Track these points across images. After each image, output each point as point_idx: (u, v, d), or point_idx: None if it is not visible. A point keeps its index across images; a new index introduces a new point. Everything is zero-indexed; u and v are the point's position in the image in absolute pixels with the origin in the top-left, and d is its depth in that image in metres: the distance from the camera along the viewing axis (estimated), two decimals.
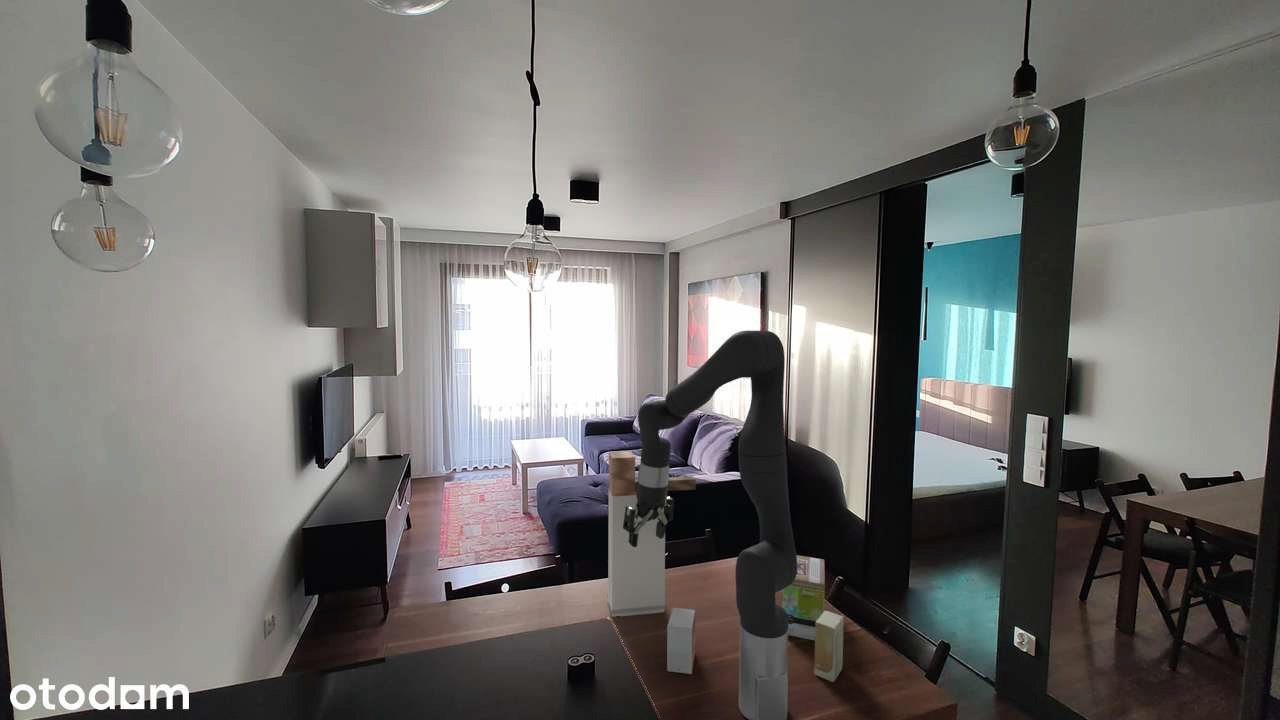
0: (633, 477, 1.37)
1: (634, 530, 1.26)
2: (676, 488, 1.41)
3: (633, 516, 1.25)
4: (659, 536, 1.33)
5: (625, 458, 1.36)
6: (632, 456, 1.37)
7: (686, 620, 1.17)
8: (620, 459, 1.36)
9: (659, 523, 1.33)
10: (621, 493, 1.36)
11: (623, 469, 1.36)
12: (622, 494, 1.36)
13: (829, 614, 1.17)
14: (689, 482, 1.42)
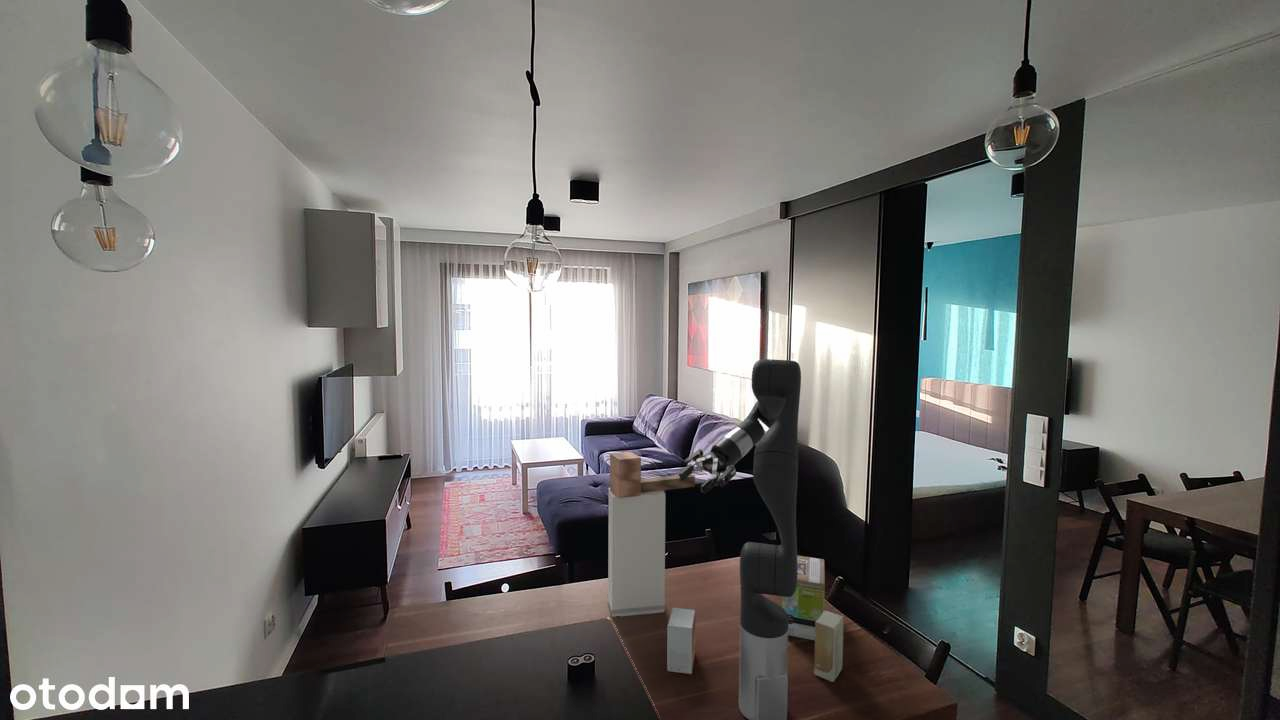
0: (639, 478, 1.36)
1: None
2: (677, 486, 1.43)
3: (697, 452, 1.46)
4: None
5: (631, 459, 1.35)
6: (637, 457, 1.36)
7: (686, 620, 1.17)
8: (627, 460, 1.34)
9: None
10: (627, 494, 1.35)
11: (629, 470, 1.35)
12: (628, 495, 1.35)
13: (829, 614, 1.17)
14: (689, 480, 1.44)
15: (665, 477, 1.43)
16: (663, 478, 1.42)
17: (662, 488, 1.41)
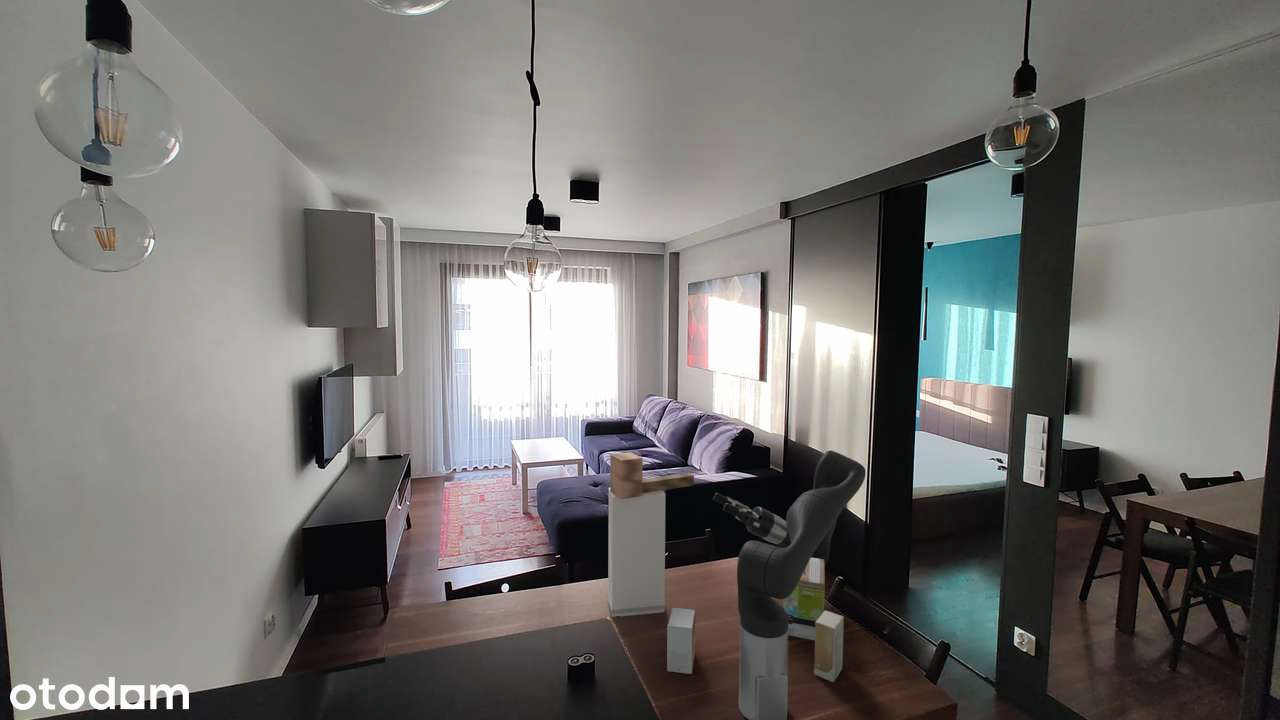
0: (640, 478, 1.36)
1: None
2: (677, 486, 1.43)
3: None
4: None
5: (633, 459, 1.34)
6: (638, 457, 1.36)
7: (686, 620, 1.17)
8: (628, 461, 1.34)
9: None
10: (629, 495, 1.35)
11: (631, 471, 1.34)
12: (630, 496, 1.35)
13: (829, 614, 1.17)
14: (688, 479, 1.45)
15: (665, 477, 1.44)
16: (663, 478, 1.43)
17: (662, 488, 1.41)
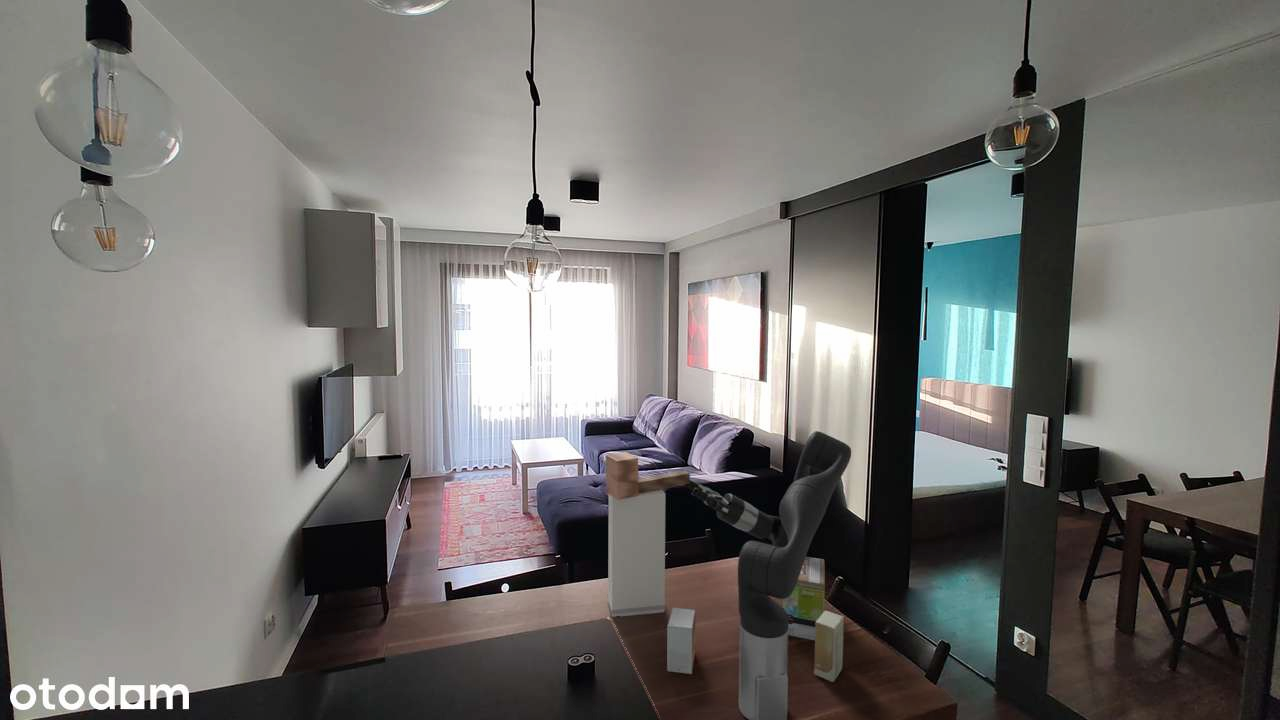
0: (636, 478, 1.35)
1: None
2: (673, 484, 1.43)
3: None
4: None
5: (629, 460, 1.34)
6: (634, 457, 1.35)
7: (686, 620, 1.17)
8: (624, 461, 1.33)
9: None
10: (626, 495, 1.34)
11: (627, 471, 1.34)
12: (627, 496, 1.34)
13: (829, 614, 1.17)
14: (684, 477, 1.44)
15: (660, 475, 1.43)
16: (659, 477, 1.42)
17: (658, 487, 1.41)
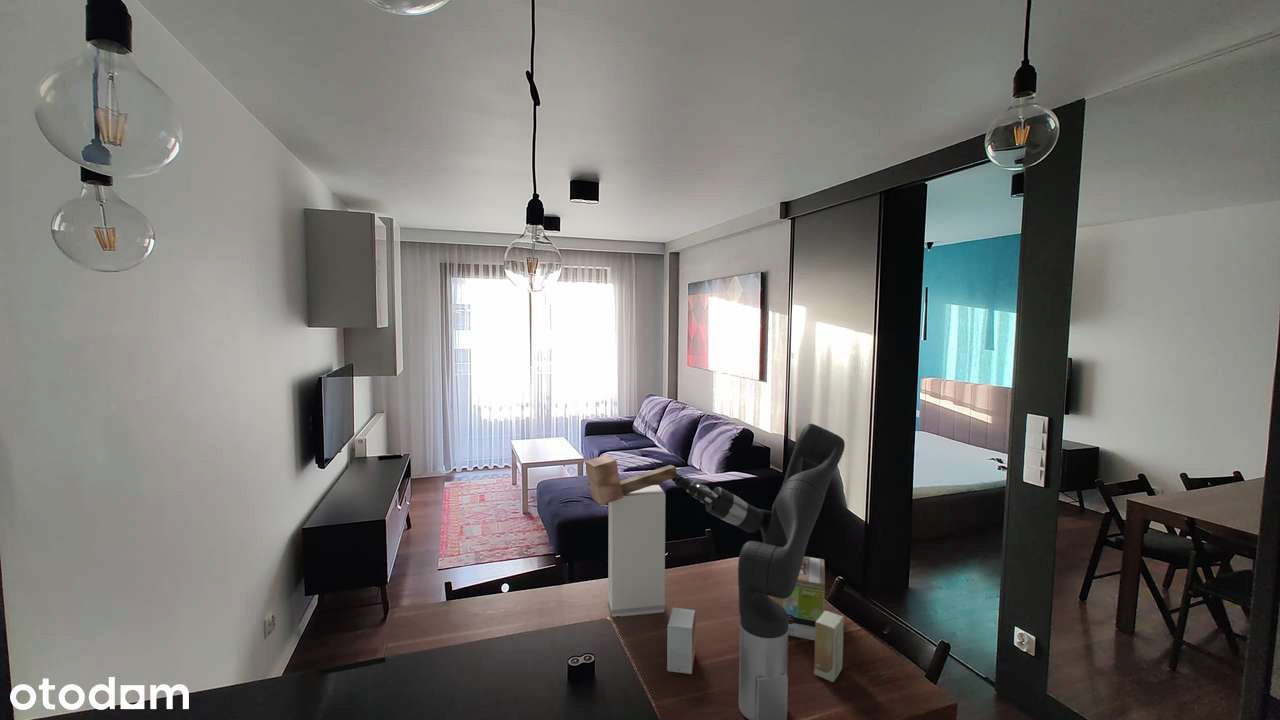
0: (618, 480, 1.33)
1: None
2: (659, 480, 1.40)
3: None
4: None
5: (606, 463, 1.31)
6: (612, 459, 1.33)
7: (686, 620, 1.17)
8: (602, 465, 1.31)
9: None
10: (609, 499, 1.32)
11: (606, 475, 1.31)
12: (611, 500, 1.32)
13: (829, 614, 1.17)
14: (670, 471, 1.41)
15: (646, 473, 1.40)
16: (644, 475, 1.39)
17: (644, 485, 1.38)
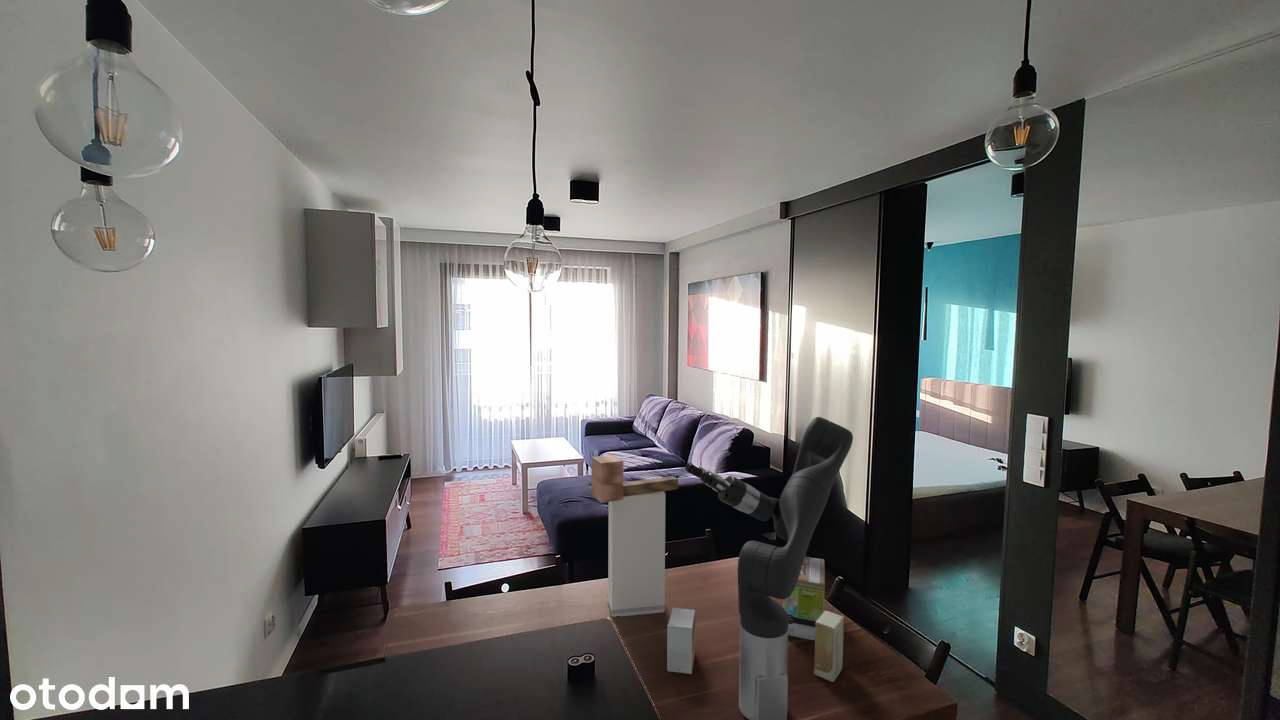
0: (621, 481, 1.33)
1: None
2: (660, 489, 1.40)
3: None
4: None
5: (613, 462, 1.32)
6: (619, 460, 1.33)
7: (686, 620, 1.17)
8: (609, 464, 1.31)
9: None
10: (610, 499, 1.32)
11: (611, 474, 1.31)
12: (611, 500, 1.32)
13: (829, 614, 1.17)
14: (672, 482, 1.41)
15: (648, 480, 1.40)
16: (646, 481, 1.39)
17: (645, 491, 1.38)
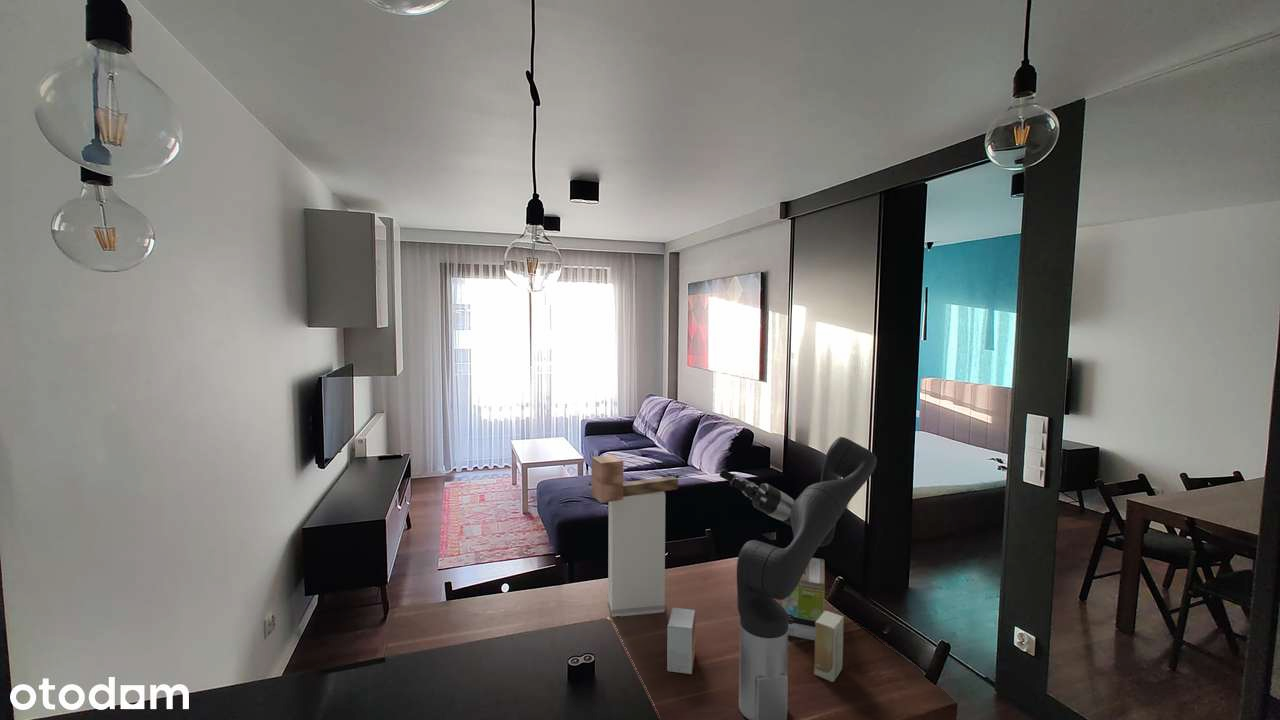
0: (621, 481, 1.33)
1: None
2: (660, 489, 1.40)
3: None
4: None
5: (613, 462, 1.32)
6: (619, 460, 1.33)
7: (686, 620, 1.17)
8: (609, 464, 1.31)
9: None
10: (610, 499, 1.32)
11: (611, 474, 1.31)
12: (611, 500, 1.32)
13: (829, 614, 1.17)
14: (672, 482, 1.41)
15: (648, 480, 1.40)
16: (646, 481, 1.39)
17: (645, 491, 1.38)
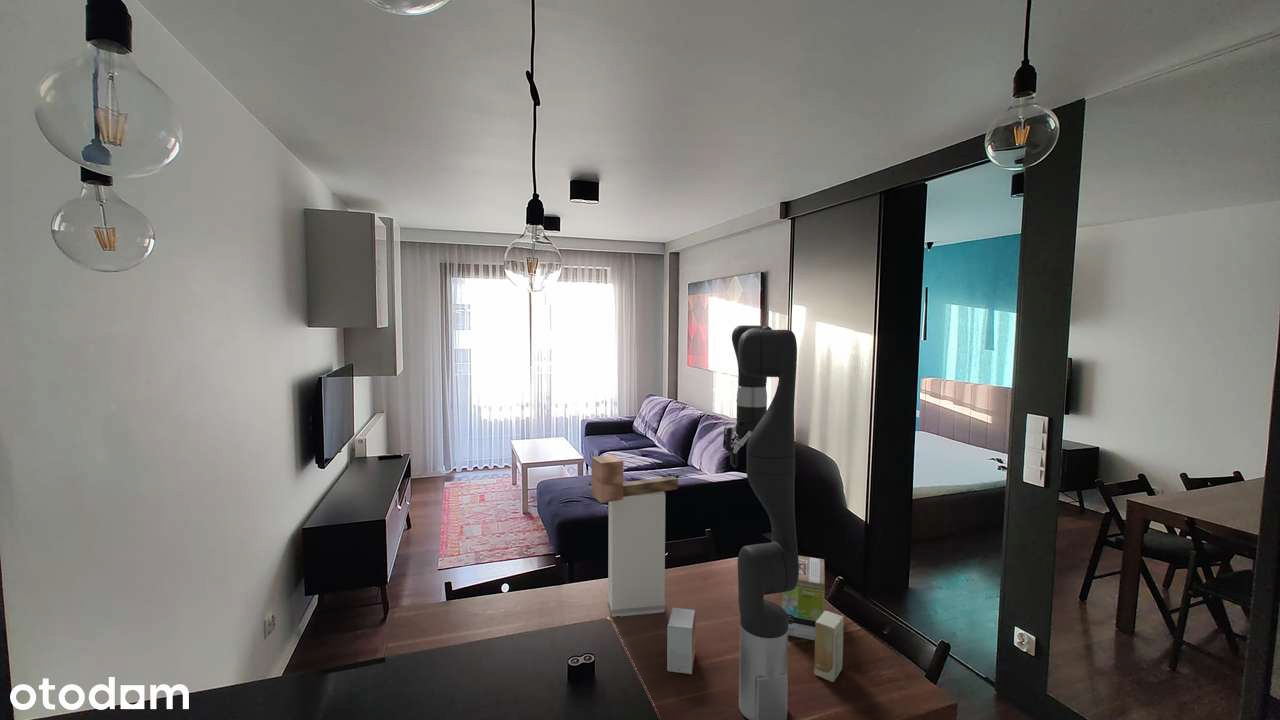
0: (621, 481, 1.33)
1: (733, 449, 1.33)
2: (660, 489, 1.40)
3: (730, 434, 1.32)
4: None
5: (613, 462, 1.32)
6: (619, 460, 1.33)
7: (686, 620, 1.17)
8: (609, 464, 1.31)
9: None
10: (610, 499, 1.32)
11: (611, 474, 1.31)
12: (611, 500, 1.32)
13: (829, 614, 1.17)
14: (672, 482, 1.41)
15: (648, 480, 1.40)
16: (646, 481, 1.39)
17: (645, 491, 1.38)
